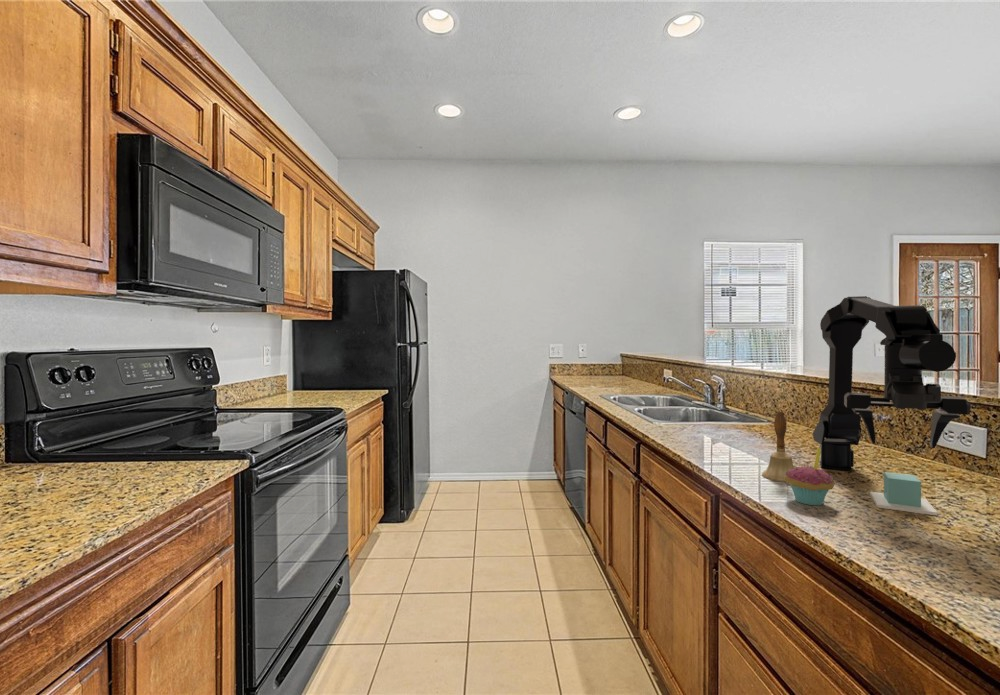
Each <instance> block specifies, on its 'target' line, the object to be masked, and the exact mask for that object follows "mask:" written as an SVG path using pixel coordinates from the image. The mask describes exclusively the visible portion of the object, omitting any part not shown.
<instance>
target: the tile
mask: <svg viewBox="0 0 1000 695" xmlns="http://www.w3.org/2000/svg"><path fill="white" fill-rule="evenodd" d="M869 493H870V494H869V495H870V497H871V499H872V500H873V502H874V504H875V506H876V508H878V509H885V510H887V509H888V510H894V511H901V512H909V513H916V514H923V515H931V516H939V515H938V511H937V510H936V509H935V508H934V507H933V505H932V504H931V503H930V502H929V501H928V500H927V498H923V497H921V507H914V506H907V505H899V504H892V503H888V502H887V500H886V499H885V497H884V492H875V491H870V492H869Z"/></svg>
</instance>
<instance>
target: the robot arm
mask: <svg viewBox="0 0 1000 695" xmlns="http://www.w3.org/2000/svg"><path fill="white" fill-rule="evenodd" d="M869 322H873V323H875V329H877V331H879V332H881V333H882V334H884V336H885V337H884V338H883V339H882V340H881V341H880V342H879V343H880V346H884V383H883V384H884V390H883V391H884V392H883V393H884V397H880V396H878V397H876V396H871V395H870V394H869V393H868V392H853V390H852V389H853V364H854V363H853V362H854V361H853V360H854V359H853V357H854V349H855V347H856V345H857V344H858V343H859V341H860V340H861V339H862V335H863V331H864V329H865V328H866V326H867V325H868V324H869ZM819 326H820V330H821V332H822V333H821V334H822V335H821V336H822V339H823V340H824V342H825V343H826V345H827V346H828V348H829V365H828V367H829V368H828V369H829V370H828V372H829V373H828V403H827V405H826V406H825V407H824V408H823V409H822V411H821V412H820V416H819V417H820V418H819V420H818V423H817V425H816V426H815V428H814V430H813V431H812V437H813V441H814V442H816V443H818V444H819V445H820V444H821V447H820V448H821V453H820V459H819V465H820V468H823V469H824V468H825V469H831V470H842V471H853V468H854V466H855V462H854V461H855V460H854V459H855V458H854V456H855V455H854V450H853V448H852V446H859V443H860V439H861V433H862V426H861V419H862V422H864V426H865V428H866V431H867V433H868V436H869V438H870V441H871V443H872V444H876V430H875V425H874V417H873V416H874V414H873V413H874V412H873V410H871V407H890V408H891V407H892V408H895V409H898V410H905V409H911V410H913V409H914V410H918V411H924V410H927V409H929V410H932V409H933V410H932V413H931V414H932V415H931V424H930V435H929V437H930V438H929V442H930V448H931V449H936V447H937V445H938V442H939V440H940V438H941V436H942V434H943V432H944V430H945V429H946V427H947V426H948V424H949V423H950V422H951V421H952V420H955V419H956V420H957V419H960V418H961V415H971V405H970V402H969V401H968V400H967V399H965V398H963V397H960V396H951V395H950V396H948V395H947V396H946V395H944V396H943V395H942V386H941V384H939V383H926V384H924V382H923V371H928V372H944V371H946V370H949V368H951V367H952V366H953V365H954V363H955V362H956V359H957V352H956V351H955V349H954V348H953V346H952V344H950V343H949V342H947V341H946V340H944V335H943V333H940V331H941V330H940V329H939V327H938V326H937V324H936V323H935V321H934V320H933V318H932V316H931V314H930V312H929V311H928V309H927V308H926V307H925V306H923V305H919V304H917V305H894V304H890V303H886V302H883V301H880V300H877V299H873V298H871V297H869V296H866V295H863V296H861V295H860V296H855V295H854V296H846V297H844V298H843V299H842V300H841V302H840V303H838V304H837V305H835V306H833V307H831V308H829V309H828V310H827V311H826V312H825V314H824V315H823V317H822V318H821V320H820V324H819Z"/></svg>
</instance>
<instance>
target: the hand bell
mask: <svg viewBox="0 0 1000 695" xmlns="http://www.w3.org/2000/svg"><path fill="white" fill-rule="evenodd" d="M773 426H774V432H775V435H776V452H773V453H771V454H770V455H769V456H770V458H769V463H768V466H767V467H766V469H765V470H764V471H763V472H762V473H761V476H762V477H763V478H765V479H768V480H770V481H775V482H776V481H777V482H783V483H786V482H785V480H784V478H785V475H786V472H787V471H789V470H790V469H793V468H795V466H794V463H793V457H792V455H790V453H789V454H788V453H787V452H786V447H785V445H786V444H785V437H786V436H785V435H786V432H787V419H786V416H785V414H784V411H781V410H780V411H778V410H777V412H776V414H775V418H774V421H773Z"/></svg>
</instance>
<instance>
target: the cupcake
mask: <svg viewBox="0 0 1000 695" xmlns="http://www.w3.org/2000/svg"><path fill="white" fill-rule="evenodd" d="M820 459H821V444H820V443H819V446H818V447H817V449H816V455H815V459H814V464H813V466H809V465H808V466H798V467H797V466H796V467H794V468H793V469H790V470H789V471H787V472H786V475H785V478H784V480H785V482H784V483H787V484H789V486H790V488H791V490H792V492H793V496H794V499H795V501H797V502H798V503H801V504H804V505H810V506H821V505H823V504H824V501H825V499H826V496H827V495H828V492H829V490H833V489H834V487H835V482H834V478H833V476H832V475H831V474H829V473H828V472H827V471H824V470H822V469H820V468H818V467H819V464H820Z"/></svg>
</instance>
